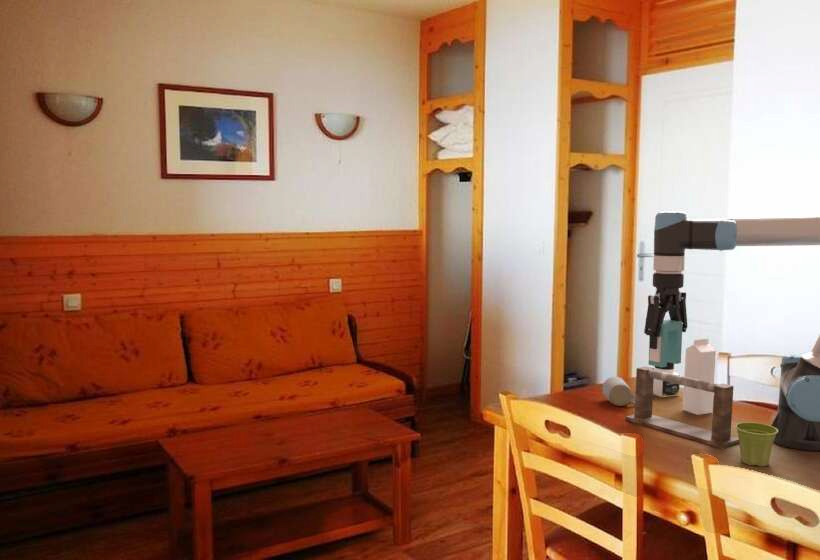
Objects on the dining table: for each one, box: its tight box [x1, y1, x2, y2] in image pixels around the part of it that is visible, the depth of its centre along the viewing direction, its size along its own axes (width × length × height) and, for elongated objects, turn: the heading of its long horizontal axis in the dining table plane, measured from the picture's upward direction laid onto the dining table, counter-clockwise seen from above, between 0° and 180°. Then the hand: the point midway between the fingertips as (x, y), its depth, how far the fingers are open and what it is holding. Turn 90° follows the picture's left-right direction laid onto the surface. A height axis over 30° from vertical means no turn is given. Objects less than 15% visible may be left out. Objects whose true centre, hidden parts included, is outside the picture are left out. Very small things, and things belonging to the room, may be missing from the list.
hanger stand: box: [625, 365, 739, 449], centre depth 205 cm, size 30×8×15 cm, turn 37°
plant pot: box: [735, 421, 778, 467], centre depth 182 cm, size 9×9×9 cm
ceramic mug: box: [602, 376, 635, 407], centre depth 233 cm, size 11×8×8 cm
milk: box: [682, 338, 717, 416], centre depth 224 cm, size 6×6×22 cm
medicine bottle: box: [653, 362, 681, 398], centre depth 244 cm, size 7×7×12 cm
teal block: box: [648, 318, 683, 367], centre depth 195 cm, size 8×4×11 cm, turn 128°
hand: (665, 358), depth 195 cm, fingers closed on teal block, 8 cm apart
